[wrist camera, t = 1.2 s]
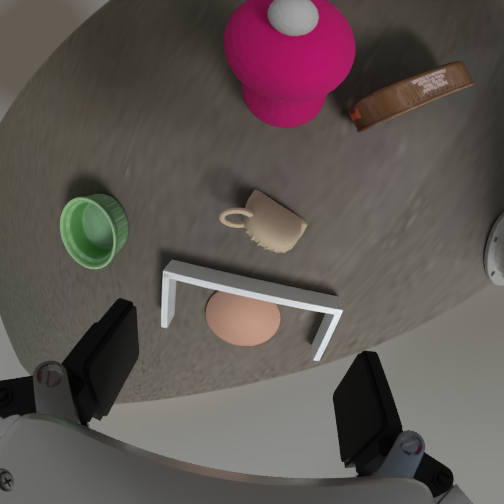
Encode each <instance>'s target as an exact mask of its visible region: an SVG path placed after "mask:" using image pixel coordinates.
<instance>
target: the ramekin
mask: <svg viewBox="0 0 504 504" xmlns="http://www.w3.org/2000/svg"><path fill="white" fill-rule="evenodd" d="M60 232H61V237H62V240H63V243H64V245H65V247H66V249H67V251H68V252H69V254H70V255H71V256H72V258H73V259H74V260H75V261H77V262H78V263H79V264H81V265H82V266H84V267H86V268H90V269H100V268H103V267H105V266H106V265H107V264H109V263H110V261H111V260H112V259H113V257H114V255H115V254H116V253H117V252H118V251H119V250H120V249H121V248H122V247H123V246H124V244H125V242H126V240H127V236H128V220H127V217H126V214H125V212H124V210H123V208H122V206H121V205H120V204H119V203H118V202H117V201H116V200H115V199H114V198H113V197H111V196H109V195H106V194H94V195H90V196H86V197H77V198H74V199H72V200H71V201H69V202H68V203H67V204H66V206H65V207H64V209H63V211H62V214H61V219H60Z"/></svg>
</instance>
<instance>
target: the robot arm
mask: <svg viewBox="0 0 504 504" xmlns="http://www.w3.org/2000/svg"><path fill="white" fill-rule="evenodd" d="M484 265H485V271H486V274H487V276H488V278H489V279H490V280H491V281H492V282H493V283H494V284H496V285H499V286H502V285H504V212H503V213H502V214H501V215H500V216H499V217H498V219H497V220H496V222H495V224H494V226H493V228H492V229H491V232H490V235H489V237H488V241H487V244H486V249H485V257H484ZM138 356H139V343H138V329H137V311H136V307H135V306H133V303H132V302H131V301H128V300H125V299H121V298H119V299H118V300H117V301H116V302H115V303H114V304H113V305H112V306H111V308H110V309H109V310H108V311H107V312H106V314H105V315H104V316H103V317H102V318H101V320H100V321H99V322H96V323H94V324H93V325H92V326H91V327H90V329H89V330H88V331H87V332H86V333H85V335H84V336H83V337H82V338H81V340H80V341H79V342H78V343H77V345H76V346H75V347H74V348H73V350H72V351H71V352H70V353H69V355H68V356H67V357H66V359H65V360H64V361H63V363H62V364H60V363H59V362H56V361H45V362H42V363H40V364H39V365H38V366H37V367H36V368H35V370H34V372H33V376H28V377H22V378H16V379H9V380H2V381H0V504H473V503H472V502H471V501H470V500H469V498H468V497H467V496H466V495H465V494H464V492H463V491H462V490H461V489H460V488H459V487H458V485H457V484H455V485H453V474H452V472H451V470H450V469H449V468H448V467H446V466H445V465H443V464H441V463H440V462H438V461H437V460H435V459H434V458H432V457H431V456H429V455H428V454H426V453H425V452H424V451H425V443H424V440H423V438H422V437H421V436H420V435H419V434H418V433H416V432H414V431H409V430H408V431H404V432H403V430H402V425H401V421H400V418H399V415H398V412H397V409H396V405H395V402H394V399H393V396H392V393H391V390H390V387H389V385H388V382H387V379H386V376H385V374H384V370H383V368H382V365H381V362H380V360H379V357H378V354H377V353H376V352H372V351H363V352H362V353H361V354H358V355H357V357H356V358H355V360H354V361H353V363H352V365H351V366H350V368H349V370H348V371H347V373H346V375H345V376H344V378H343V379H342V381H341V382H340V384H339V385H338V387H337V389H336V390H335V392H334V394H333V403H334V410H335V417H336V424H337V431H338V439H339V446H340V455H341V460H342V462H344V463H345V468H349V467H356V473H355V475H354V476H353V477H351V478H324V479H323V478H322V479H308V478H305V479H304V478H282V477H268V476H259V475H250V474H243V473H236V472H229V471H224V470H218V469H214V468H209V467H204V466H200V465H195V464H191V463H187V462H183V461H179V460H176V459H172V458H168V457H165V456H162V455H159V454H155V453H152V452H149V451H146V450H143V449H140V448H138V447H135V446H132V445H130V444H127V443H124V442H122V441H119V440H116V439H114V438H111V437H109V436H106V435H104V434H102V433H100V432H97V431H95V430H92V429H90V426H89V423H88V422H90V420H91V418H92V417H93V418H96V419H98V420H101V419H102V417H103V416H107V415H108V413H109V411H110V409H111V407H112V406H113V404H114V402H115V400H116V398H117V396H118V394H119V392H120V390H121V388H122V387H123V385H124V383H125V381H126V379H127V377H128V375H129V374H130V372H131V370H132V368H133V366H134V364H135V363H136V361H137V359H138Z"/></svg>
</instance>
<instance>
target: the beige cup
mask: <svg viewBox="0 0 504 504" xmlns="http://www.w3.org/2000/svg"><path fill="white" fill-rule="evenodd" d="M234 213H238V214H243V221H240V222H235V221H229V220H227V219H225V216H226V215H229V214H234ZM219 219H220V221H221V222H222V223H223V224H225V225H227V226H230V227H236V228H243V227H244V228H245V230H246V233H247V234H248V235H249V236H250V238H251V240H254V241H255V242H256V245H257V246H258V245H261V246H262V248H263V249H264V250H266V249H268V250H269V251H270V252H273V251H274V252H276V253H280V252H282V253H285V252H286V251H288V250H290V249H292V247H293V246H294V245H295V244H296V242H297V241H298V239H299V238H300V237H301V236H302V234H303V233H304V231H305V229H306V227H307V224H308V223H307V222H306V221H304V220H303V219H301V218H300V217H298V216H297V215H295V214H294V213H292V212H291V211H289V210H288V209H286V208H284V207H283V206H281V205H280V204H278V203H277V202H275V201H274V200H272V199H271V198H269V197H268V196H266V195H265V194H263V193H262V192H260V191H259V190H256V189H255V190H254V191H253V193H252V194H251V196H250V197H249V199H248V201H247V203H246V206H245V208H229V209H226V210H224V211H222V212H221V214H220V216H219Z"/></svg>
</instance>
